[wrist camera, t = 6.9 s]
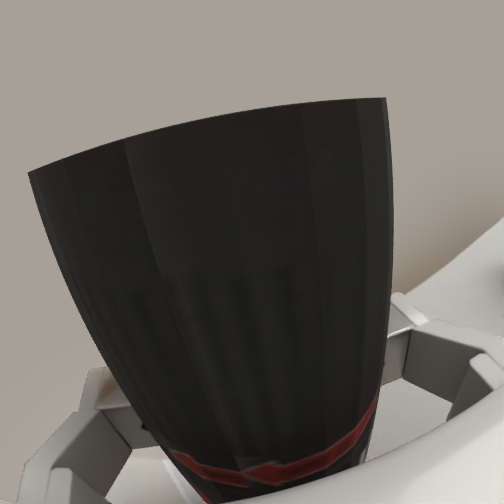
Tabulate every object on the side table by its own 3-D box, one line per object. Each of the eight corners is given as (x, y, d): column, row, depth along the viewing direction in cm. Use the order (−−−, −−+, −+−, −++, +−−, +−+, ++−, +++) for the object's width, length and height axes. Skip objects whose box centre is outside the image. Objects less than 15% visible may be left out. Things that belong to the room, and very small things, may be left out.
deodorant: (356, 547, 8) (471, 99, 2) (216, 549, 9) (-44, 206, 3) (348, 442, 14) (344, 99, 7) (232, 449, 14) (127, 137, 8)
